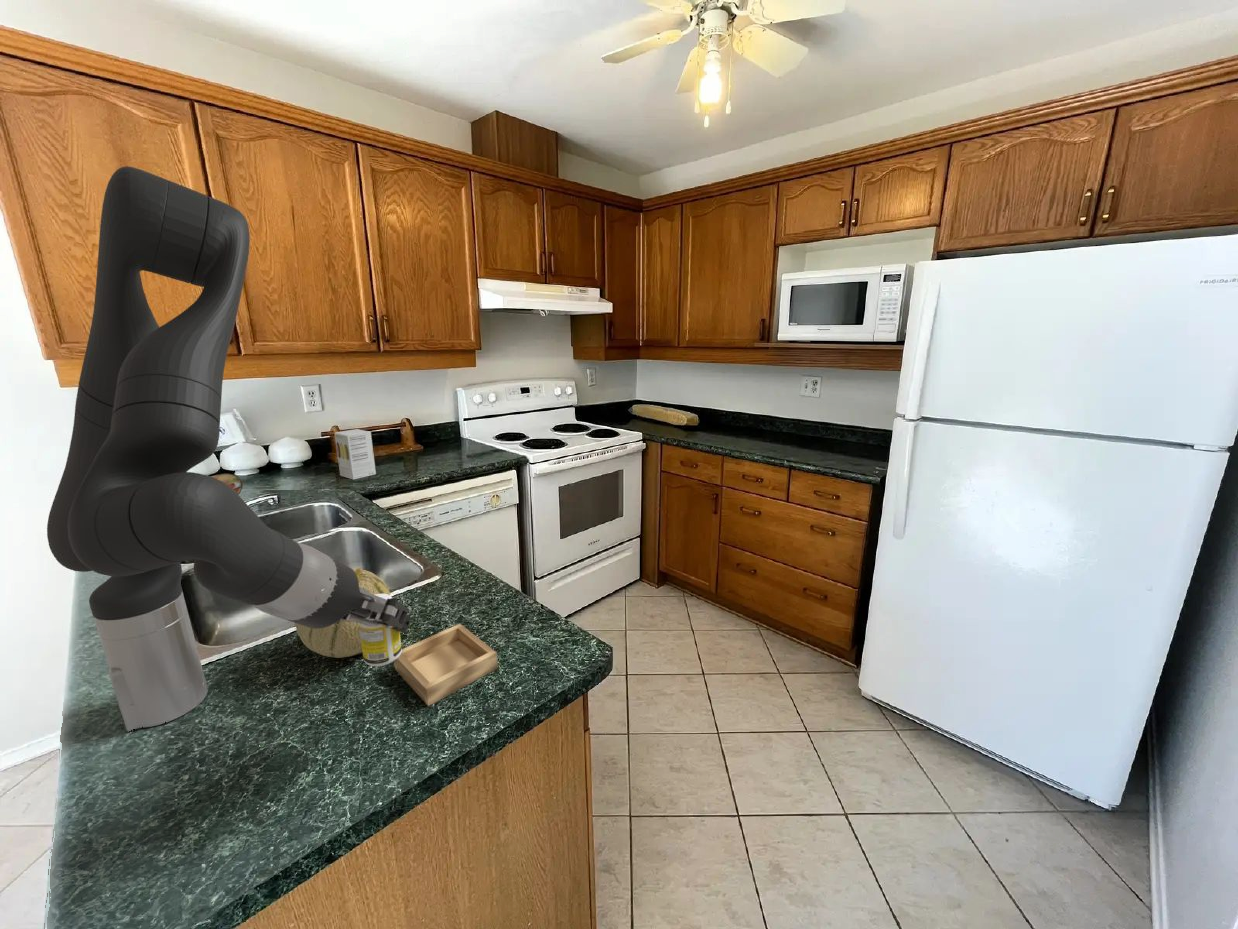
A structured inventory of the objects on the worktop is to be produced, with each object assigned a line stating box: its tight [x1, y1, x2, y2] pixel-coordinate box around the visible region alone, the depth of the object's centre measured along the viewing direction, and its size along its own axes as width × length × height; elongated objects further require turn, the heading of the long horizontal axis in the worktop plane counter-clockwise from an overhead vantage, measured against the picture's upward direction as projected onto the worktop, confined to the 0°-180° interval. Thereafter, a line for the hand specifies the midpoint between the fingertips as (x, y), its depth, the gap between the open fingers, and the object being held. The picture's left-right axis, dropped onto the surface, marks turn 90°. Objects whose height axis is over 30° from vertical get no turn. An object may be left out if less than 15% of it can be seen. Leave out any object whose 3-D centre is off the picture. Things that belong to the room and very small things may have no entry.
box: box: [393, 623, 499, 707], centre depth 82 cm, size 12×12×3 cm
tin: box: [210, 473, 244, 496], centre depth 161 cm, size 15×3×8 cm, turn 143°
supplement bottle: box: [358, 594, 403, 667], centre depth 67 cm, size 5×5×8 cm
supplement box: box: [334, 428, 377, 480], centre depth 189 cm, size 10×9×17 cm
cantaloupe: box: [294, 567, 391, 659], centre depth 86 cm, size 15×15×15 cm
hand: (388, 621), depth 69 cm, fingers closed on supplement bottle, 4 cm apart
